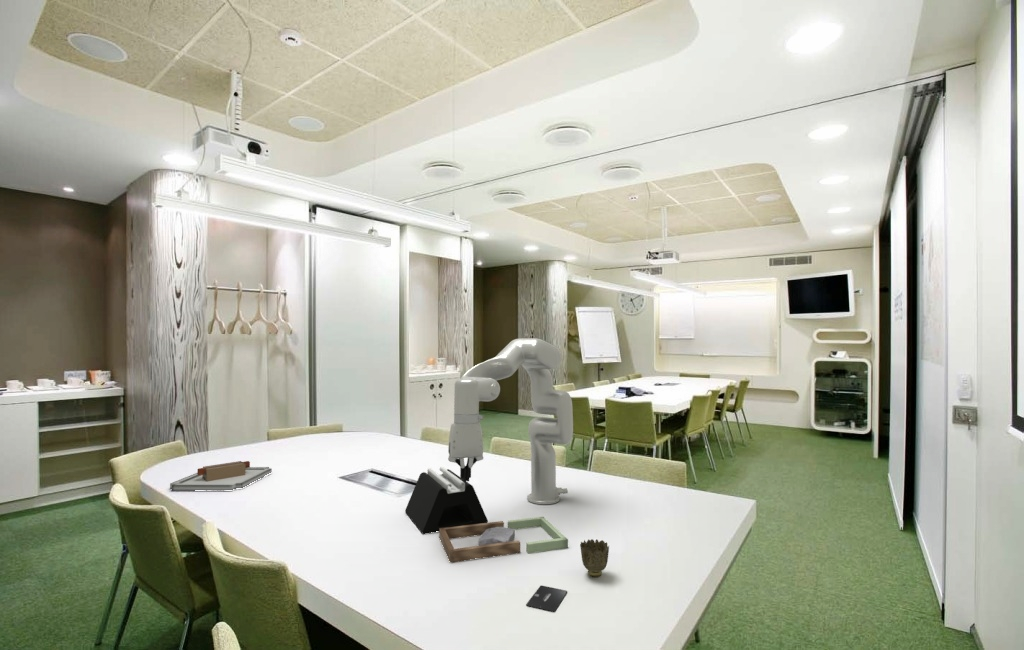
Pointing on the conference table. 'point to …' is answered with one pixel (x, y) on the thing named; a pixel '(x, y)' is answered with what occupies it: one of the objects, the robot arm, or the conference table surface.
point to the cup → (594, 556)
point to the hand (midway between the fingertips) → (465, 480)
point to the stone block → (497, 536)
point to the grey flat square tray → (221, 477)
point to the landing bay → (544, 545)
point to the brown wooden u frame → (475, 551)
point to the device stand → (443, 502)
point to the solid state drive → (547, 598)
